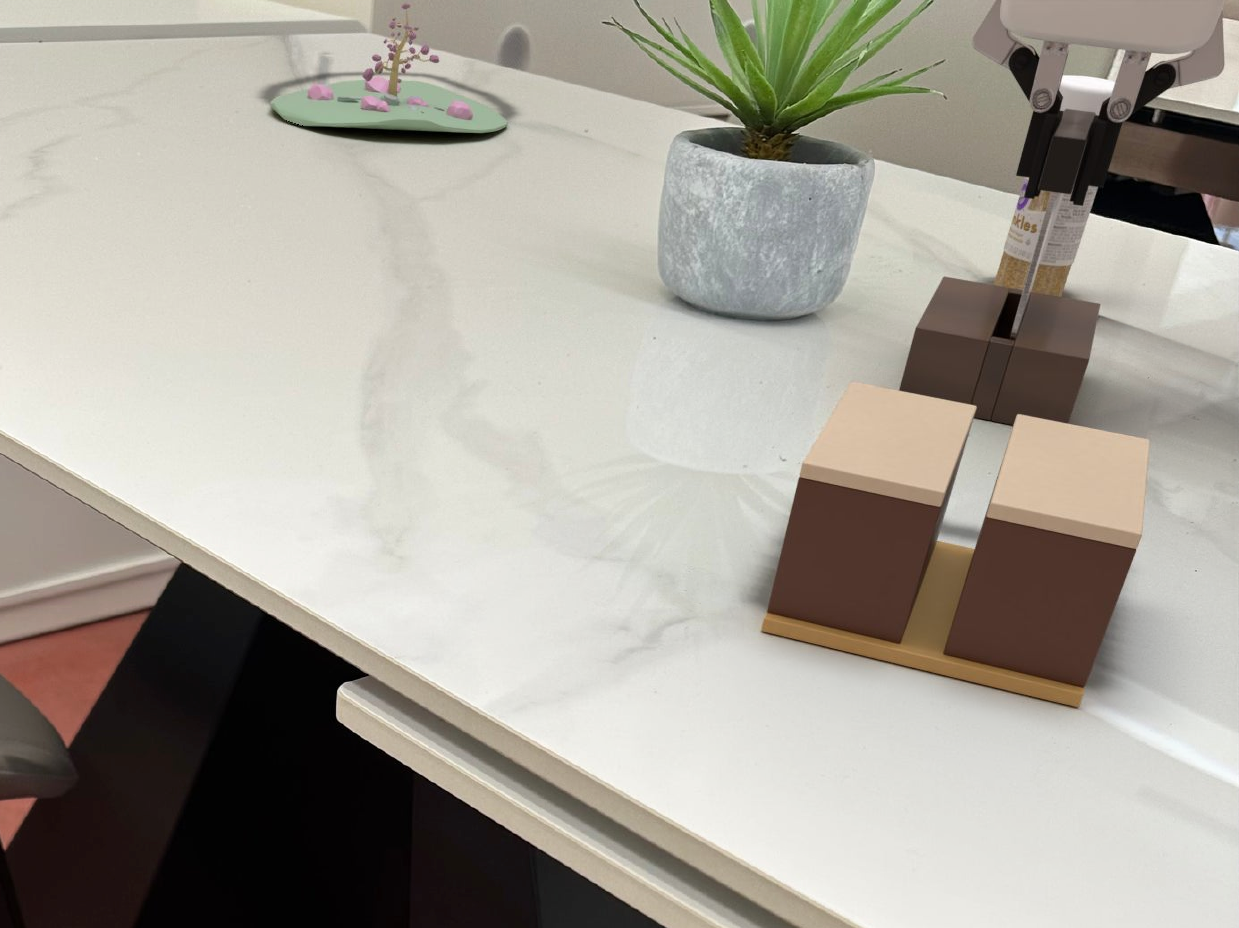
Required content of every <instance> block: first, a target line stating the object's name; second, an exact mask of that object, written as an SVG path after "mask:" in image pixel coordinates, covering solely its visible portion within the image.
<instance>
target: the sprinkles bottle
mask: <svg viewBox="0 0 1239 928" xmlns="http://www.w3.org/2000/svg"><path fill="white" fill-rule="evenodd" d="M1115 82H1116V81H1115V80H1114V81H1113V80H1110V79H1106V78H1100V77H1094V76H1087V75H1069V74H1068V75H1065V74H1063V77H1062V81H1061V85H1060V89H1059V91H1060V93H1061V94H1062V96H1063V100H1062V103H1061V108H1060V111H1064V110H1065V109H1071V110H1079V111H1087V112H1095V113H1096V115H1099V113H1100V109H1101V106H1102V103H1103V102H1104V101H1105V100H1106V99H1108V98H1109V97H1111V94H1112V91H1113V88H1114V85H1115ZM1063 113H1064V112H1063ZM1028 180H1029V178H1028V177H1024V179H1023V183H1022V187H1021V189H1020V193H1019V196H1018V199H1017V203H1016V207H1015V210H1014V213H1013V216H1012V219H1011V223H1010V226H1009V229H1008V232H1007V236H1006V238H1005V243H1004V246H1003V253H1002V256H1001V259H1000V263H999V265H998V266H999V267H998V268H997V272H996V275H995V279H994V281H993V285H996V286H1002V287H1008V288H1013V289H1019V290H1023V289H1024V285H1025V282H1026V278H1027V275H1028V271H1029V268H1030V264H1031V261H1032V257H1033V254H1034V250H1035V247H1036V243H1037V240H1038V236H1039V233H1040V229H1041V226H1042V222H1043V219H1044V215H1045V212H1046V208H1047V205H1048V201H1049V198H1050V194H1051V192H1049V191H1042V190H1041V192H1040V195H1039V197H1036V196H1035V197H1034V199H1030V198H1024V195H1025V191H1026V187H1027V184H1028ZM1098 189H1099V187H1094V186H1089V187H1088V190H1087V194H1086V197H1085V200H1084V204H1083V206H1080V205H1073V202H1071V201H1070V198H1071V194H1072V193H1071V194H1063V193H1060V194H1059V197H1058V201H1057V204H1056V208H1055V211H1054V215H1053V218H1052V221H1051V225H1050V228H1049V232H1048V235H1047V239H1046V242H1045V246H1044V249H1043V253H1042V256H1041V260H1040V263H1039V266H1038V270H1037V273H1036V277H1035V280H1034V284H1033V287H1032V291H1031V293H1032V292H1036V293H1042V294H1047V295H1053V296H1059V297H1063V294H1064V290H1065V286H1066V284H1067V281H1068V277H1069V276H1070V275H1069V274H1070V271H1071V269H1072V266H1073V264H1074V262H1075V259H1076V256H1077V253H1078V252H1079V251H1078V250H1079V248H1080V244H1081V241H1082V238H1083V236H1084V232H1085V229H1086V226H1087V222H1088V220H1089V216H1090V213H1091V210H1092V208H1093V204H1094V201H1095V198H1096V194H1097V192H1098ZM1072 191H1073V190H1072Z"/></svg>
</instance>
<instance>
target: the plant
mask: <svg viewBox="0 0 1239 928" xmlns="http://www.w3.org/2000/svg"><path fill="white" fill-rule="evenodd" d="M409 8H411V4H409V3H407V2H405V3H403V4H402V5H401V9H403V10H405V11H406V12H405V21H406V22H405V23H406V24H405V25H404V24H403V23H401V22H397V23H396V19H397V18H396V17H393V18H392V21H391V22H390V23H389V24H388V27H389V28H390V29H392V30H394V29H395V28H396V27H397V28H400V29H401V28H402V29H403V30H405V33H404V36H403V38H402V40H401V42H400V43H398V42H397V41H396V40H397V38H395V39H391V40H388V38H385V39H384V40H383V44H387V42H388V44H387V45H386V47H387V49H388V50H389V52H388V53H387V56H388V58H387V60H386V61H385V62H383V61H382V56H381V55H379V54H377V53H375V54H374V55H372V56H371V59H372V61H373V62H377V63H376V64H375V66H374V69H373V68H372V67H369V68H366V69H365V71H364V72H363V73H362V78H363V79H353V80H345V81H343V80H342V81H337V82H333V83H329V84H328V83H327V84H323V83H313V84H312V86H311V87H309V88H306V89H303V90H298V91H294V92H290V93H285V94H281V95H277V96H276V97H275V98H273V99H272V100H271V101H270V102H269V106H270V107H271V108H272V109H273V110H274V111H275V112H276V113H277V114H278V115H279V116H280V117H281V118H282V119H283V120H285V121H286V120H287V121H286V122H288V121H290V122H293V123H292V124H294V123H296V124H295V125H297V124H299V125H298V126H302V125H303V126H304V127H324V128H325V127H326V128H329V127H330V128H346V129H348V128H349V129H369V130H392V131H393V130H395V131H396V130H397V131H419V132H443V133H471V134H484V133H492V132H494V133H495V132H497V131H500V130H502V129H505V128H506V127H507V126H508V123H509V121H508V120H507V118H505V117H504V116H503V115H502V114H500V113H498V112H497V111H496V110H494V109H492V108H491V107H489V106H488V105H487V104H484V103H483V102H480V101H477V100H475V99H472V98H470V97H467V96H464V95H462V94H459V93H457V92H454V91H451V90H449V89H447V88H445V87H442V86H439V85H436V84H433V83H429V82H426V81H425V82H424V81H420V80H402V79H401V78H399V67H400V65H402V66H403V67H402V68H401V69H400V72H401V73H402V74H403V75H404V74H406V72H407V71H406V70H409V69H411V68H412V64H411V63H410V62H413V61H414V60H419V61H421V62H423V63H424V62H425V63H426V62H430V63H433V64H439V62H440V58H439V56H438V55H437V54H431V55H430V56H429V58H428V59H425V60H424V59H423V58H422V59H421V56H420V54H422V55H423V56H427V55H429V53H430V47H429V45H428V44H424V45H422V46H421V48H420V50H419V52H418V53H417V54H415V53H416V48H414V47H411V45H412V44H414V43H413V41H414V40H415V39H416V38H417V34H416V33H415V32H416V31H419V29H420V27H418V26H414V27H412V26H411V25H409V18H408V17H409V16H408V10H407V9H409ZM395 35H396V33H395V32H394V31H392V32H391V33H390V36H391V38H394V36H395ZM400 36H401V32H398V33H397V37H400ZM408 39H409V40H408ZM407 41H408V44H409V45H410V47H409V49H405V50H403V49H404V47H405V45H406V43H407ZM403 53H410V54H411V55H412V56H410V57H409V56H406V58H404V59H403V58H401V54H403ZM389 61H392V64H391V67H390V68H389V67H388V64H389ZM384 63H386V64H385V65H384ZM404 64H405V65H404ZM384 70H385V71H386V72H390V76H389V80H388V79H386V78H385V77H382V76H375V75H379V74H380V75H381V74H382V73H383V71H384ZM290 122H289V123H290ZM303 126H302V127H303Z"/></svg>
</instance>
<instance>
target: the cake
mask: <svg viewBox="0 0 1239 928" xmlns="http://www.w3.org/2000/svg"><path fill="white" fill-rule="evenodd" d="M976 408H977V407H976V406H975V405H970V404H964V403H959V402H954V401H949V400H944V399H939V398H934V397H929V396H924V395H918V394H913V393H908V392H903V391H899V389H898V390H897V389H892V388H887V387H882V386H877V385H871V384H868V383H867V384H866V383H861V382H857V381H851V382H850V383H849V385H848V386H847V388H846V390H845V392H843V395H842V396H841V398H840V399H839V402H838V403H837V405H836V406H835V408H834V410H833V411H832V413H831V415H830V416H829V418H828V420H827V421H826V423H825V424H824V427H822V430H821V431H820V433H819V434H818V437H817V438H816V439H815V441H814V443H813V445H812V446H811V448H810V450H809V451H808V453H807V454H806V456H805V458H804V460H803V461H802V463H801V467H800V470H799V477H798V478H797V483H796V488H795V491H794V495H793V496H794V497H793V500H792V505H791V508H790V513H789V517H788V522H787V526H786V530H785V534H784V538H783V543H782V547H781V551H780V555H779V559H778V563H777V568H776V570H775V571H776V572H775V576H774V580H773V585H772V587H771V588H772V589H771V592H770V597H769V601H768V605H767V608H766V614H765V615H764V617H763V620H762V624H761V629H760V630H761V632H764V633H767V634H772V635H776V636H780V637H785V638H789V639H793V640H797V641H801V642H806V643H809V644H814V645H817V646H822V647H826V648H831V649H834V650H838V651H841V652H846V653H850V654H855V655H858V656H863V657H868V658H871V659H875V660H880V661H885V662H889V663H892V664H896V665H901V666H905V667H909V668H912V669H917V670H921V671H925V672H929V673H934V674H938V675H942V676H947V677H950V678H954V679H958V680H963V681H967V682H970V683H975V684H978V685H983V686H986V687H987V686H988V687H991V688H996V689H999V690H1005V691H1008V692H1012V693H1017V694H1021V695H1024V696H1029V697H1033V698H1037V699H1041V700H1045V701H1049V702H1054V703H1058V704H1062V705H1066V706H1070V707H1074V708H1079V707H1080V705H1081V702H1082V700H1083V697H1084V693H1085V688H1086V687H1087V683H1088V681H1089V678H1090V676H1091V672H1092V670H1093V667H1094V664H1095V662H1096V659H1097V657H1098V654H1099V651H1100V649H1101V646H1102V643H1103V640H1104V638H1105V636H1106V633H1107V629H1108V628H1109V624H1110V623H1111V619H1112V616H1113V614H1114V612H1115V609H1116V606H1117V603H1118V600H1119V598H1120V595H1121V592H1122V590H1123V588H1124V585H1125V582H1126V579H1127V577H1128V574H1129V571H1130V569H1131V566H1132V563H1133V561H1134V558H1135V555H1136V553H1137V549H1138V547H1139V545H1140V542H1141V539H1142V537H1143V529H1144V518H1145V508H1146V507H1145V504H1146V494H1147V482H1148V481H1147V480H1148V470H1149V469H1148V468H1149V457H1150V447H1151V446H1150V444H1151V440H1150V439H1148V438H1143V437H1138V436H1133V435H1128V434H1123V433H1117V432H1113V431H1107V430H1103V429H1097V428H1092V427H1086V426H1082V425H1076V424H1072V423H1068V424H1067V423H1062V422H1056V421H1051V420H1046V419H1041V418H1036V417H1031V416H1026V415H1021V414H1017V416H1016V419H1015V422H1014V425H1012V429H1011V431H1010V436H1009V439H1008V441H1007V445H1006V448H1005V451H1004V454H1003V458H1002V460H1001V464H1000V466H999V470H998V473H997V476H996V480H995V483H994V486H993V489H992V493H991V496H990V498H989V502H988V505H987V508H986V512H985V515H984V518H983V521H982V524H981V528H980V530H979V534H978V537H977V540H976V544H975V547H974V548H972V547H967V546H962V545H958V544H955V543H949V542H945V541H939V540H938V539H939V536H940V533H941V530H942V526H943V522H944V520H945V516H946V513H947V509H948V505H949V502H950V498H951V495H952V493H953V488H954V485H955V482H956V478H957V476H958V472H959V468H960V464H961V463H962V462H961V461H962V459H963V455H964V452H965V449H966V445H967V442H968V438H969V434H970V431H971V429H972V424H973V421H974V418H975V417H974V415H975V412H976Z"/></svg>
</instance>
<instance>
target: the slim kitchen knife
mask: <svg viewBox="0 0 1239 928" xmlns="http://www.w3.org/2000/svg"><path fill="white" fill-rule="evenodd" d="M1095 115H1096V113H1095V112H1087V111H1079V110H1071V109H1065V110H1064V113H1063V116H1062V119H1061V121H1060V123H1059V126H1057V128H1056V130H1055V132H1054V135H1053V137H1052V140H1051V144H1050V147H1049V151H1048V154H1047V158H1046V162H1045V165H1044V169H1043V172H1042V176H1041V179H1040V183H1039V187H1038V190H1042V191H1049V192H1051V194H1050V198H1049V201H1048V205H1047V208H1046V212H1045V215H1044V219H1043V222H1042V226H1041V229H1040V233H1039V236H1038V240H1037V243H1036V247H1035V250H1034V254H1033V257H1032V261H1031V264H1030V268H1029V271H1028V275H1027V278H1026V282H1025V285H1024V289H1023V292H1022V296H1021V299H1020V303H1019V306H1018V310H1017V313H1016V317H1015V320H1014V324H1013V327H1012V331H1011V334H1010V338H1009V340H1014V342H1015V339H1016V336H1017V333H1018V330H1019V328H1020V325H1021V322H1022V319H1023V316H1024V313H1025V310H1026V307H1027V304H1028V301H1029V298H1030V294H1031V291H1032V287H1033V284H1034V280H1035V277H1036V273H1037V270H1038V266H1039V263H1040V260H1041V256H1042V253H1043V249H1044V246H1045V242H1046V239H1047V235H1048V232H1049V228H1050V225H1051V221H1052V218H1053V215H1054V211H1055V208H1056V204H1057V201H1058V197H1059V194H1060V193H1063V194H1071V193H1072V190H1073V187H1074V184H1075V181H1076V177H1077V174H1078V171H1079V167H1080V164H1081V160H1082V157H1083V153H1084V150H1085V147H1086V143H1087V140H1088V136H1089V133H1090V129H1091V125H1092V122H1093V119H1094V116H1095Z"/></svg>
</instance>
